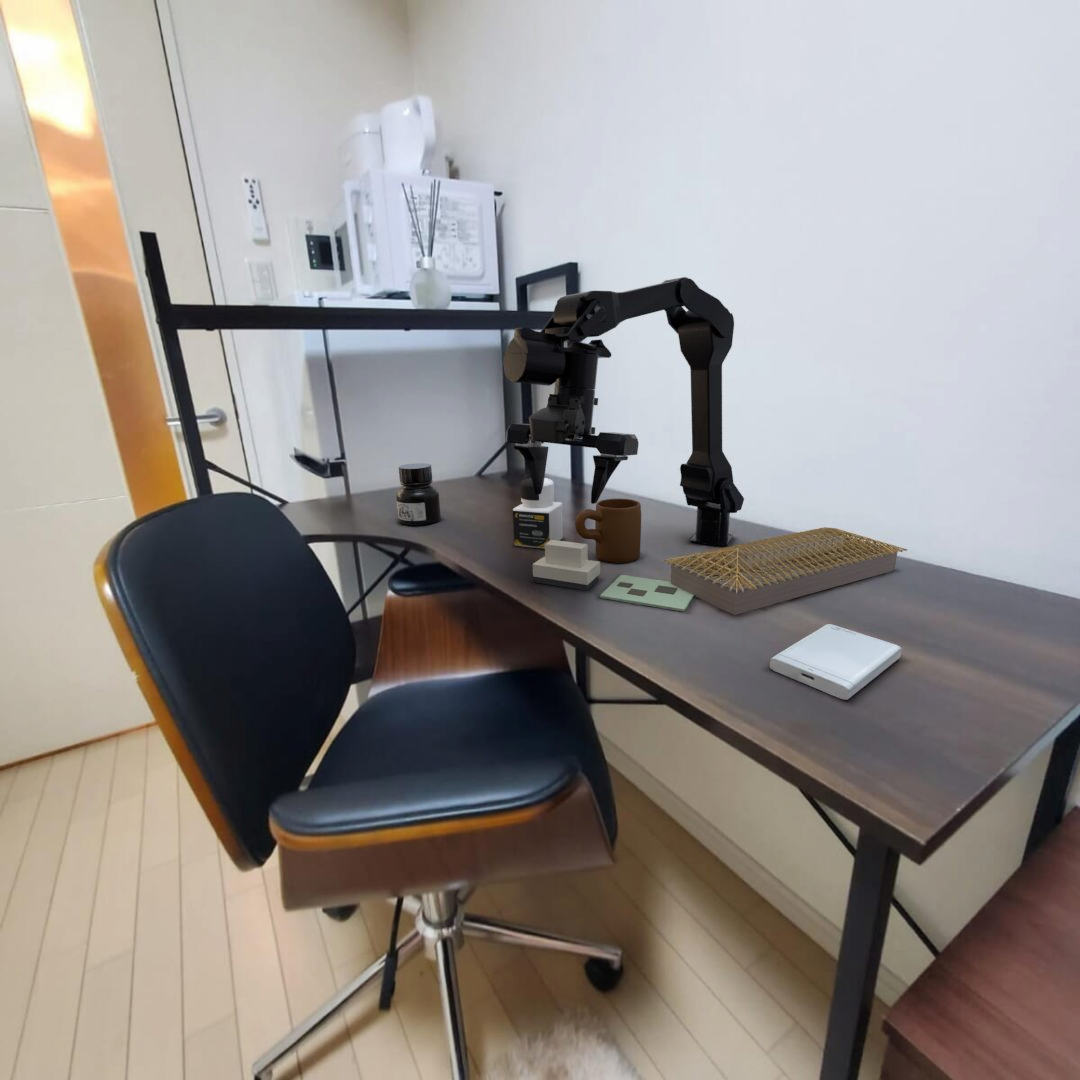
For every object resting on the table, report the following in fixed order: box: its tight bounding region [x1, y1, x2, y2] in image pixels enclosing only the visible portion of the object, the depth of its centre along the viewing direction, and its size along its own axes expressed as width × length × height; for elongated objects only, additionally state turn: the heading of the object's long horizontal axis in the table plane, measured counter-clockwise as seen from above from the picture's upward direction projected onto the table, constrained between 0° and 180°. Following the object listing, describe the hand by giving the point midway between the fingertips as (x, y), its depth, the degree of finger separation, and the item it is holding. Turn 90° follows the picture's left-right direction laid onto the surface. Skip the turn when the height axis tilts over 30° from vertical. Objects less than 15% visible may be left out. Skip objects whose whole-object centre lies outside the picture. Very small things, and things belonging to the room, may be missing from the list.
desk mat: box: [599, 574, 696, 613], centre depth 82 cm, size 9×12×1 cm
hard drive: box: [769, 623, 902, 701], centre depth 62 cm, size 2×8×12 cm
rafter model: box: [662, 526, 908, 615], centre depth 85 cm, size 35×14×6 cm, turn 117°
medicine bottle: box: [512, 477, 564, 550], centre depth 105 cm, size 7×7×12 cm
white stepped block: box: [532, 540, 601, 591], centre depth 87 cm, size 5×9×6 cm, turn 63°
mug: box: [574, 498, 642, 564], centre depth 96 cm, size 12×8×9 cm, turn 117°
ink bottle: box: [395, 462, 442, 526], centre depth 122 cm, size 10×9×12 cm
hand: (565, 498), depth 84 cm, fingers open, 9 cm apart
